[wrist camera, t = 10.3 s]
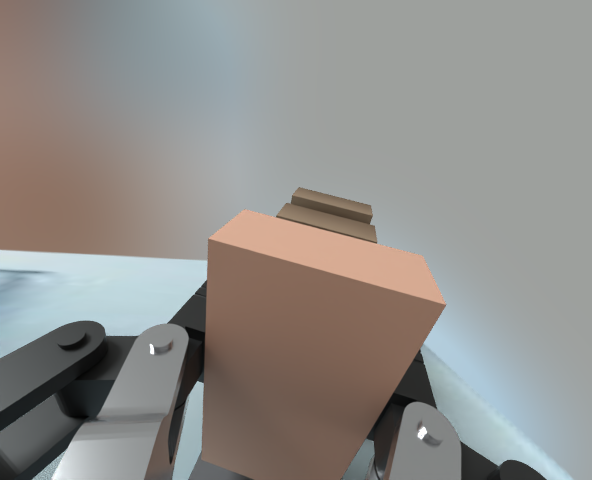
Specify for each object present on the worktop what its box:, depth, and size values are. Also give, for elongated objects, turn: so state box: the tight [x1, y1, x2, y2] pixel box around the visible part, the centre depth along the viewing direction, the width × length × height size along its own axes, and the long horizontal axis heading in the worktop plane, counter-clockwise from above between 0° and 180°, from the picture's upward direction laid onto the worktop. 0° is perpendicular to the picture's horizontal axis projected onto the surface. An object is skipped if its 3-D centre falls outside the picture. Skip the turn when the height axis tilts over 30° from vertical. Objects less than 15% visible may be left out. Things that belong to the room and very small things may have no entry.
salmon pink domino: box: [201, 209, 446, 480], centre depth 8 cm, size 2×5×10 cm, turn 78°
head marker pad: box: [188, 451, 254, 480], centre depth 12 cm, size 3×6×1 cm, turn 78°
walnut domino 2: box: [276, 203, 377, 244], centre depth 16 cm, size 2×5×10 cm, turn 78°
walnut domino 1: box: [291, 187, 373, 224], centre depth 19 cm, size 2×5×10 cm, turn 78°
